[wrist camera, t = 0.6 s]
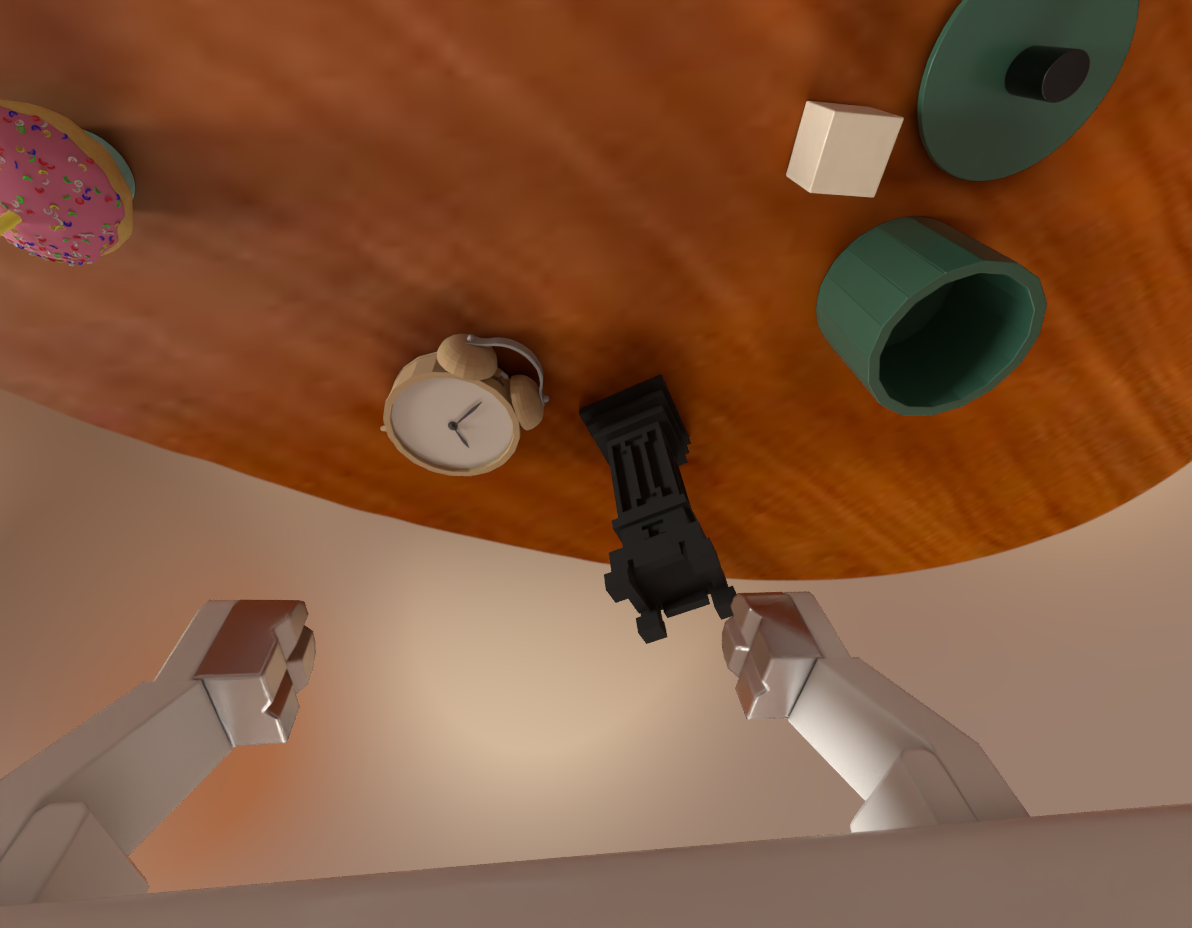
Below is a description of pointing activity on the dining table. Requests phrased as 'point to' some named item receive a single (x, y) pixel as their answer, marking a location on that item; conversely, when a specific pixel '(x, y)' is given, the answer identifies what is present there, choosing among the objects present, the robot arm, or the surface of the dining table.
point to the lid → (1018, 80)
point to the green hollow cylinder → (928, 314)
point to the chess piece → (654, 510)
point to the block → (842, 148)
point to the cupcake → (61, 187)
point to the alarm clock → (462, 407)
